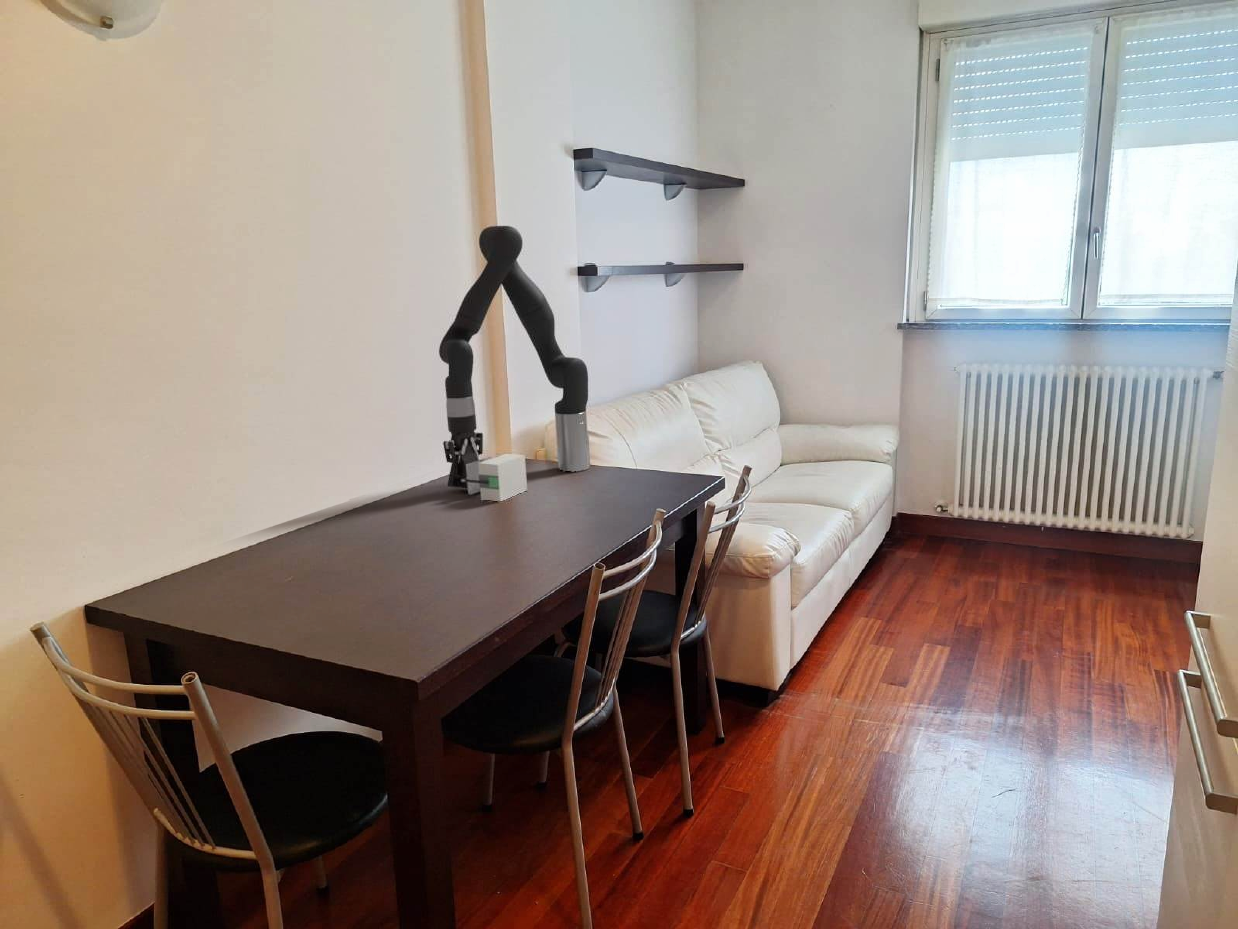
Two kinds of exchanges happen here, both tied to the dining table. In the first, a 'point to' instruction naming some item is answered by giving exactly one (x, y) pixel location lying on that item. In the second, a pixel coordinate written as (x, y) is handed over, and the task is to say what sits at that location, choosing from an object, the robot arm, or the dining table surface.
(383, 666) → the dining table surface
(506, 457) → the box
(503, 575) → the dining table surface
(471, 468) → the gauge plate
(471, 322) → the robot arm
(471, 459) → the phone stand
